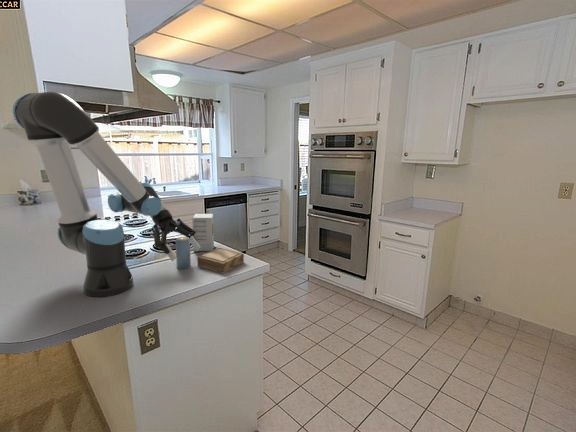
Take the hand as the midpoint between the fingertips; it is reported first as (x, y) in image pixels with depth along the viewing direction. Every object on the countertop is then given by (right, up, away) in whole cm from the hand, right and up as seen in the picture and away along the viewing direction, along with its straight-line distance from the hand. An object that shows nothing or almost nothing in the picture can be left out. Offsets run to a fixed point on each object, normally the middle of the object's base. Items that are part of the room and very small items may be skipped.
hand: (187, 254), depth 124 cm
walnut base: (+13, -5, +7) cm, 15 cm away
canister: (-2, -6, +2) cm, 6 cm away
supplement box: (0, -1, +25) cm, 25 cm away
